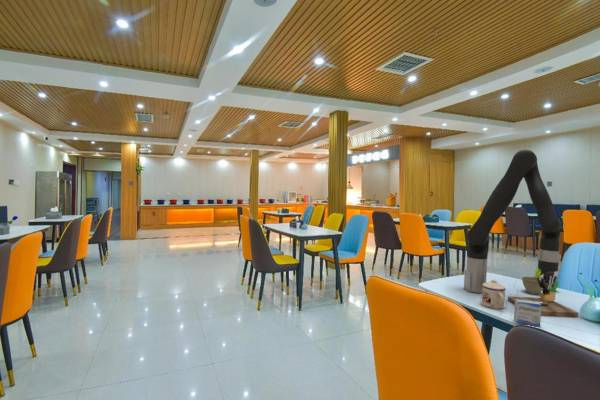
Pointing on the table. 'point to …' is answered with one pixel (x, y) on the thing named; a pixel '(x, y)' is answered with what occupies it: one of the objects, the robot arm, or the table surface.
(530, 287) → the bowl
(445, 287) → the table surface
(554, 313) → the sundial board
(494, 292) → the teacup with lid
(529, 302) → the medicine box
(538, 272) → the fruit basket
